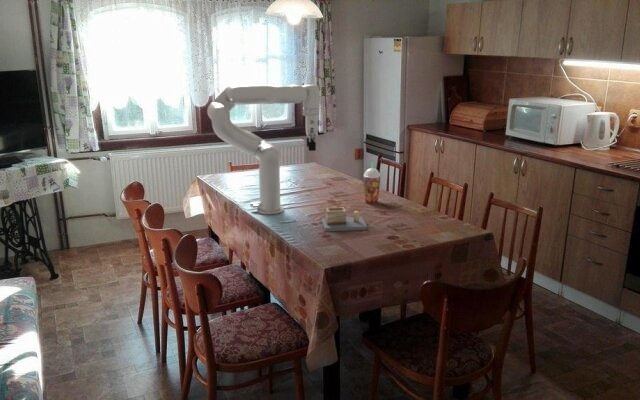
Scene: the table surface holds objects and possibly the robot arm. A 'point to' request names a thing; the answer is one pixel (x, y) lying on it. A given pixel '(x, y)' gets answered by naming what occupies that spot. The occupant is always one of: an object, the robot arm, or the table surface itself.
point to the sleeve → (335, 215)
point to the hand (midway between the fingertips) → (311, 148)
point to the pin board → (347, 224)
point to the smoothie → (371, 185)
